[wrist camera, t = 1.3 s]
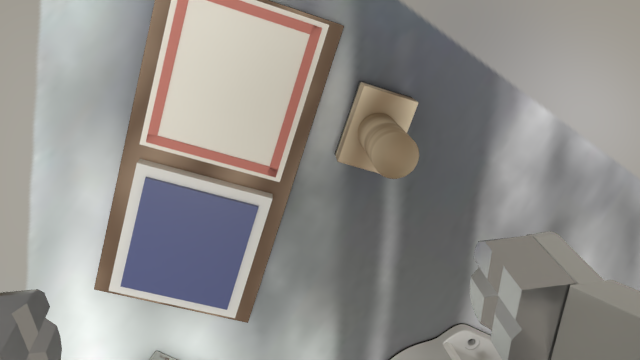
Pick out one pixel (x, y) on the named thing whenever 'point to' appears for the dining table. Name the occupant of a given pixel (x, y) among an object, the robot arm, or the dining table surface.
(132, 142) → the stamping board
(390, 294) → the dining table surface
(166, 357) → the supplement box
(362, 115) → the wooden stamp
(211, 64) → the sheet
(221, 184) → the ink pad
